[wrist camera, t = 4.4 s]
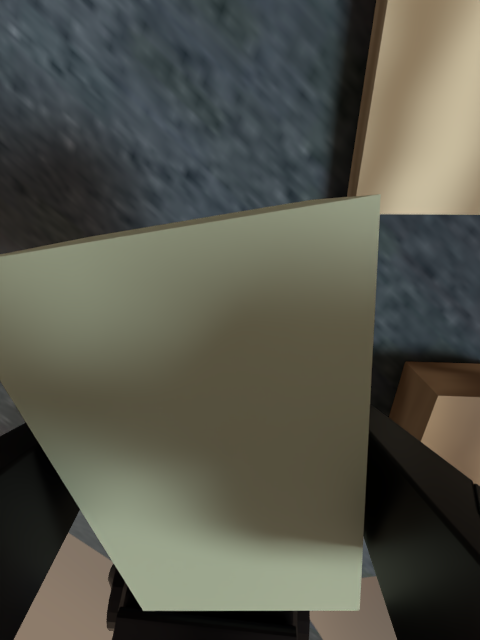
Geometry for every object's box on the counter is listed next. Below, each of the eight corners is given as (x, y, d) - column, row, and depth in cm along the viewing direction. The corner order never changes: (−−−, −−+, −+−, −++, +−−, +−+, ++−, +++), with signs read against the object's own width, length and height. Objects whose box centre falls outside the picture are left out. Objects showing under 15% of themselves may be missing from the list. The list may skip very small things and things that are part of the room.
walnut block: (380, 439, 23) (404, 484, 19) (403, 359, 19) (438, 395, 16) (452, 442, 22) (491, 489, 19) (488, 362, 19) (543, 399, 15)
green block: (179, 478, 11) (143, 611, 8) (92, 236, 7) (-70, 268, 4) (323, 469, 11) (359, 610, 7) (311, 199, 7) (380, 194, 3)
